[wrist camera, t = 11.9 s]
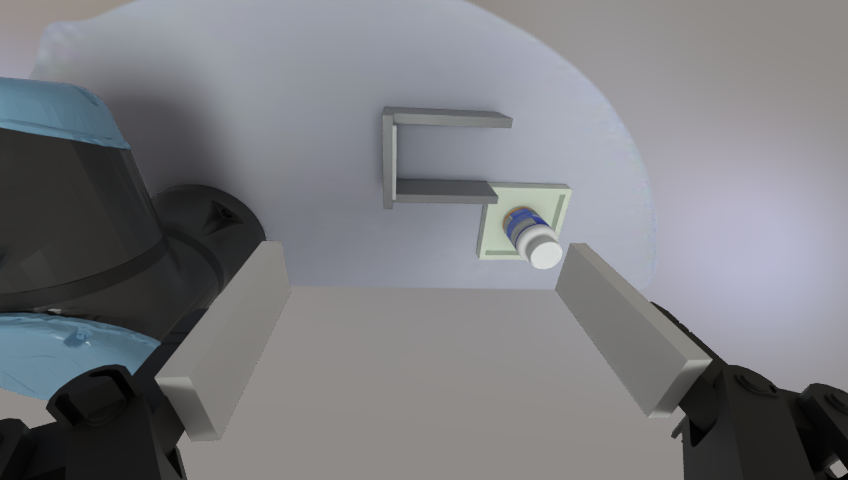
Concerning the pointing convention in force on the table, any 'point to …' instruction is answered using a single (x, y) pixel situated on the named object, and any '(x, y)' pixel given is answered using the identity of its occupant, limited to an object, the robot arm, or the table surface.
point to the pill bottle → (532, 237)
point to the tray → (538, 197)
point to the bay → (434, 188)
